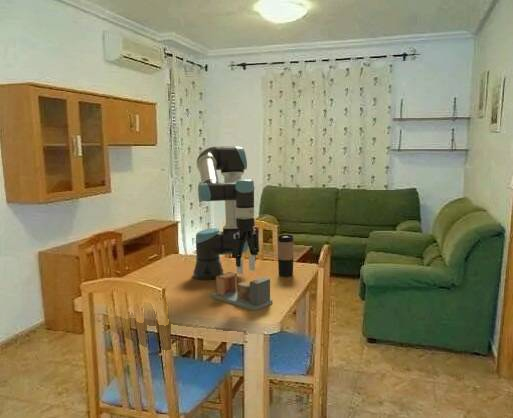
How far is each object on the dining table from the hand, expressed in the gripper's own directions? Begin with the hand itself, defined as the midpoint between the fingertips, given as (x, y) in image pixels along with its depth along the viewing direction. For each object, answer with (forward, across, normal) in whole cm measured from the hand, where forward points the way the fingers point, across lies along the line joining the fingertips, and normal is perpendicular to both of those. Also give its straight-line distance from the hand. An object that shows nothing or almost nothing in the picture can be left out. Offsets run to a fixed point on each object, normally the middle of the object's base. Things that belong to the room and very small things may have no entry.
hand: (246, 271), depth 186 cm
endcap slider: (+11, 0, +12) cm, 16 cm away
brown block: (+12, 0, -3) cm, 12 cm away
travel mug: (+13, +41, +10) cm, 44 cm away
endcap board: (+13, 0, +3) cm, 13 cm away
